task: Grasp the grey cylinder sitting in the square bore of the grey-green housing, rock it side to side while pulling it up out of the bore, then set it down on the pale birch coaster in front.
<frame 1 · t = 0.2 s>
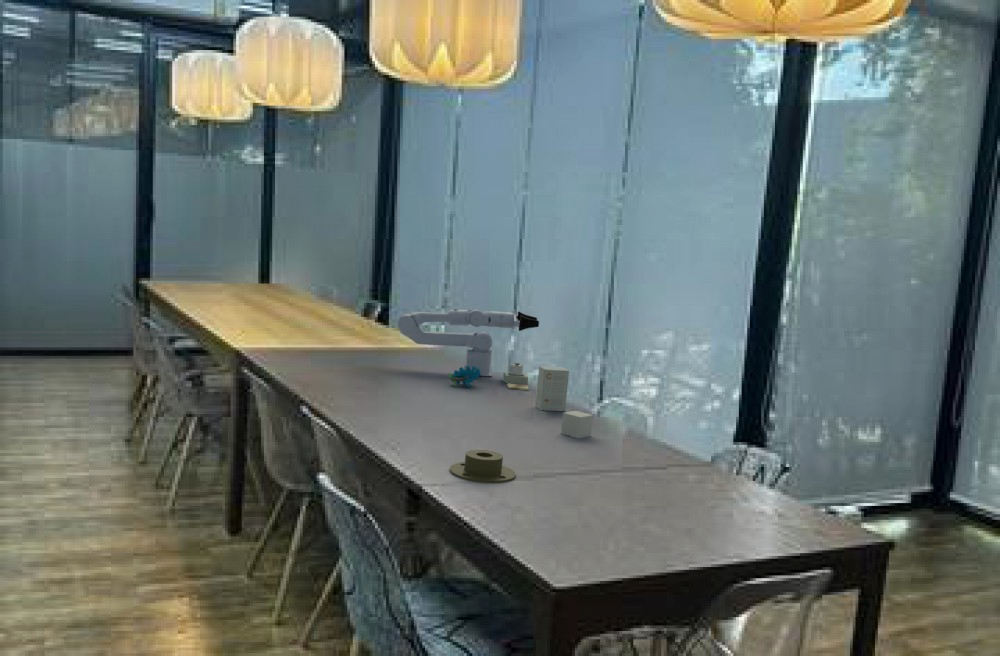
hand: (537, 322, 333), 21 cm above the table, tool horizontal, fingers open, 7 cm apart
light grey cube: (575, 435, 253), on the table
toy stegosaurus: (463, 386, 309), on the table
housing: (515, 382, 324), on the table
grey cylinder: (516, 372, 324), in the housing
flange: (482, 475, 206), on the table
coaster: (517, 387, 315), on the table
small box: (549, 409, 285), on the table
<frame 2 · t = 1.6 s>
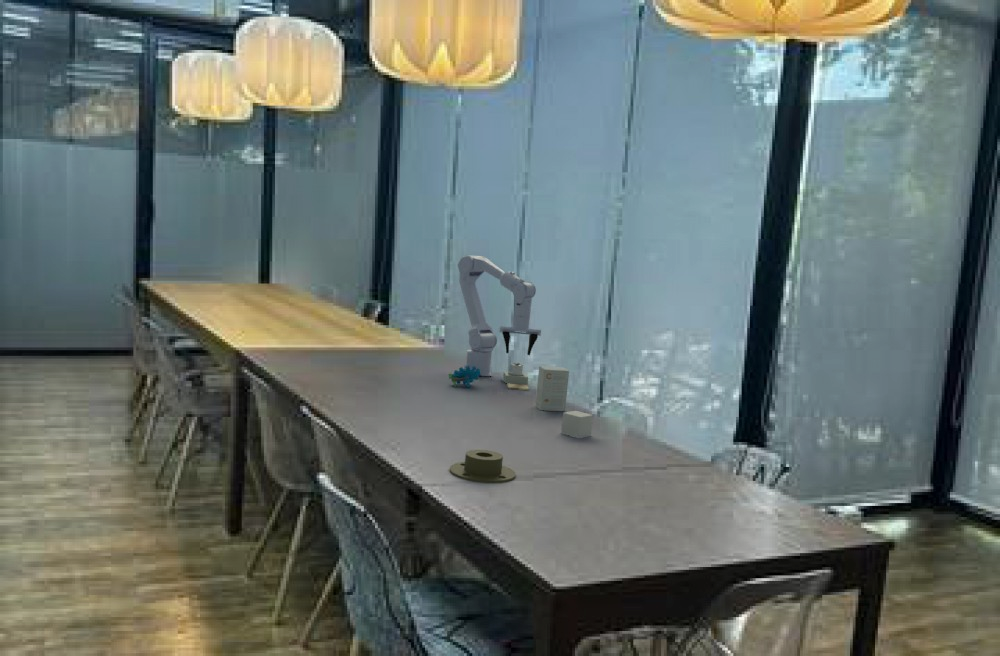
hand: (517, 353, 323), 10 cm above the table, tool pointing down, fingers open, 7 cm apart
nothing on the table moved.
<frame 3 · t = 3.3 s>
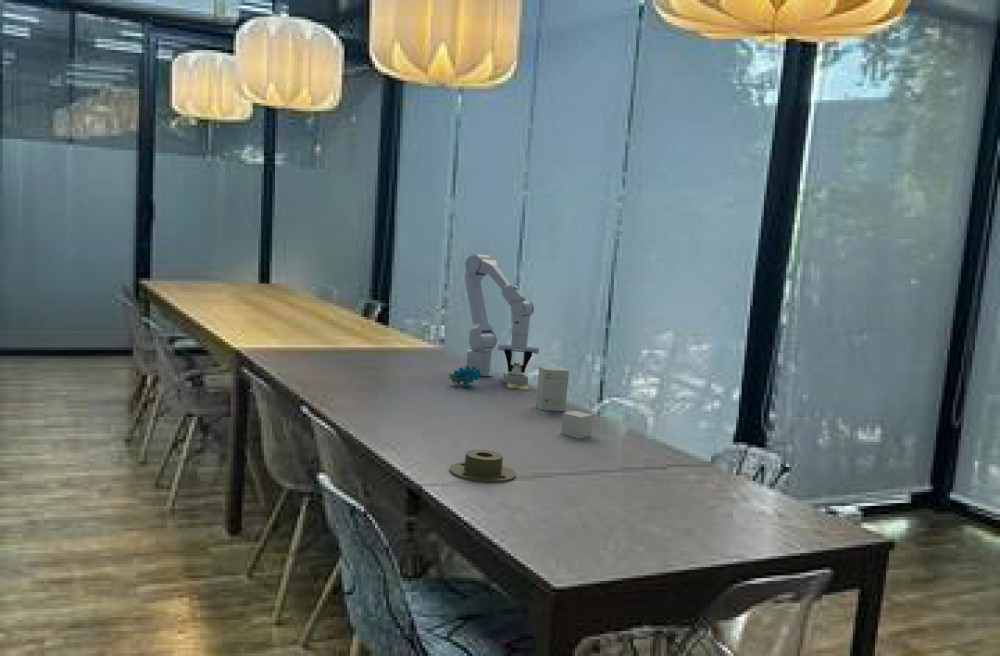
hand: (516, 371, 324), 4 cm above the table, tool pointing down, fingers closed on grey cylinder, 4 cm apart
grey cylinder: (516, 372, 324), in the housing, touching gripper
everything else where it was.
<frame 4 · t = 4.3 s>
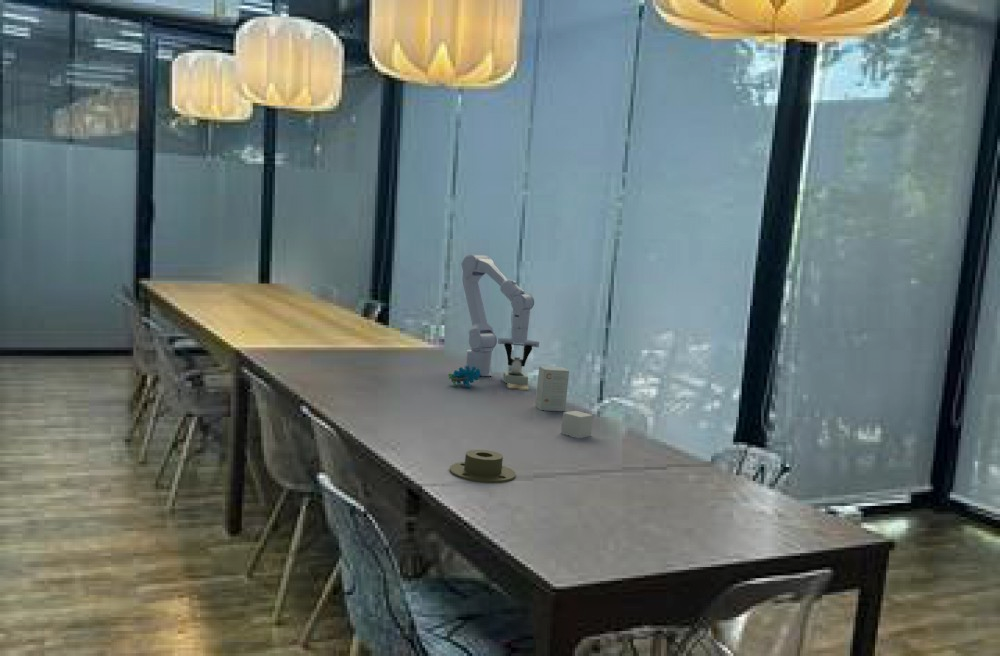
hand: (516, 365, 324), 6 cm above the table, tool pointing down, fingers closed on grey cylinder, 4 cm apart
grey cylinder: (516, 367, 324), point 6 cm above the table, touching gripper
everything else where it was.
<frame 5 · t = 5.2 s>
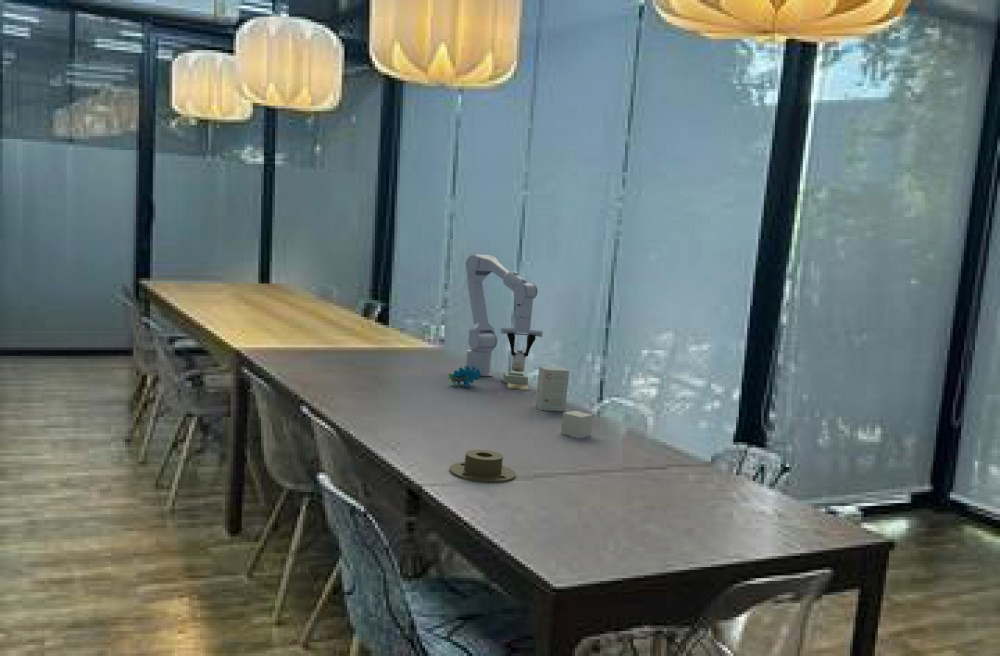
hand: (519, 355, 319), 11 cm above the table, tool pointing down, fingers closed on grey cylinder, 4 cm apart
grey cylinder: (518, 360, 320), point 9 cm above the table, touching gripper
everything else where it was.
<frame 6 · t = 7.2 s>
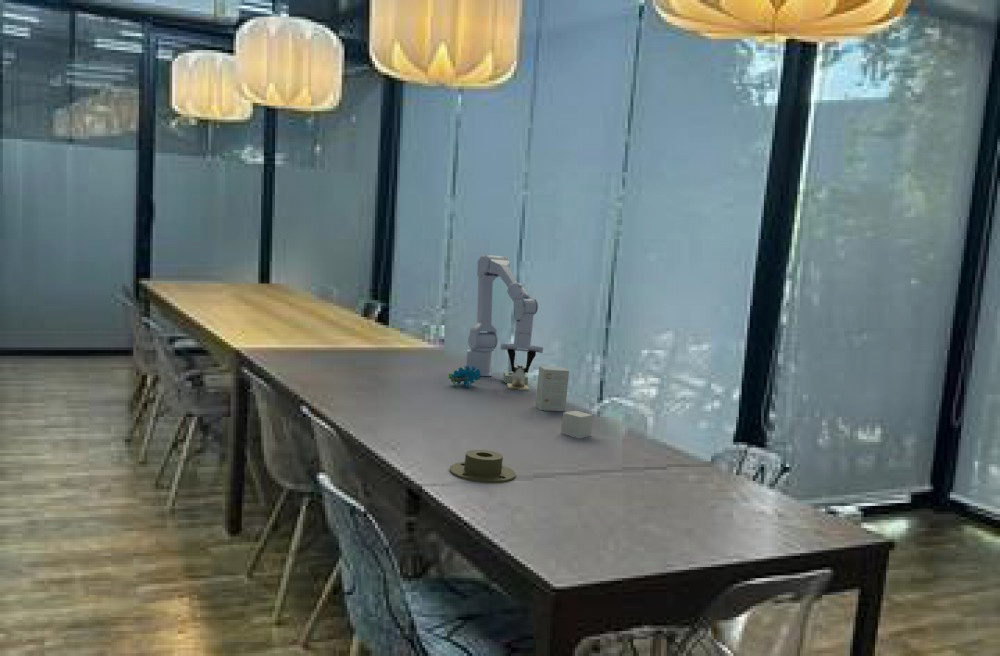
hand: (519, 371, 314), 6 cm above the table, tool pointing down, fingers closed on grey cylinder, 4 cm apart
grey cylinder: (518, 375, 315), on the coaster, point 4 cm above the table, touching gripper
everything else where it was.
when the fingers open (6 cm above the table, at t = 7.3 s): grey cylinder stays where it is, resting on coaster.
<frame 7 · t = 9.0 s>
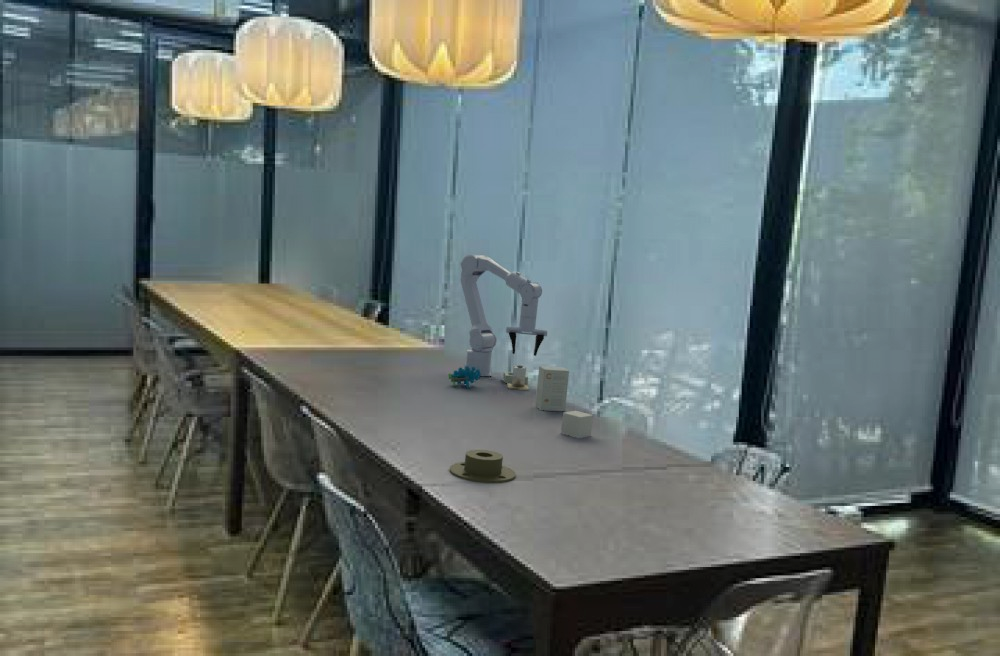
hand: (524, 354, 324), 10 cm above the table, tool pointing down, fingers open, 7 cm apart
grey cylinder: (519, 375, 315), on the coaster, point 4 cm above the table
everything else where it was.
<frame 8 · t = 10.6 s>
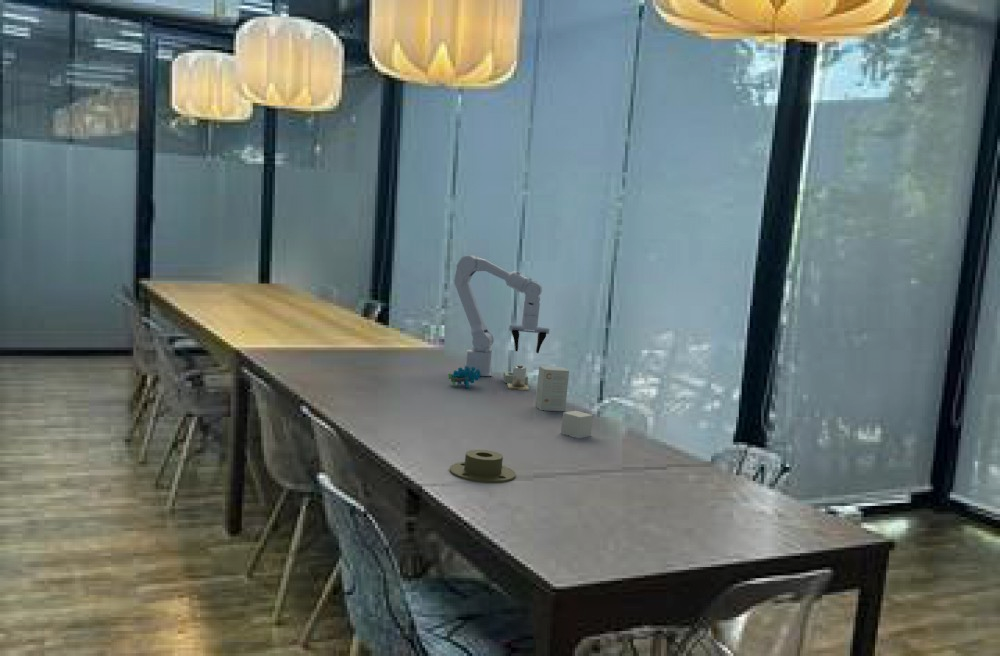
hand: (526, 351, 330), 10 cm above the table, tool pointing down, fingers open, 7 cm apart
at the end: grey cylinder 0.4 cm off-centre on the coaster, point 4.1 cm above the coaster's base; grey cylinder tilted 0°; the gripper is holding nothing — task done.
